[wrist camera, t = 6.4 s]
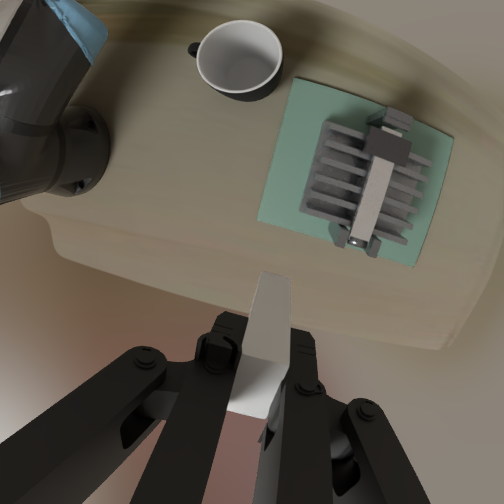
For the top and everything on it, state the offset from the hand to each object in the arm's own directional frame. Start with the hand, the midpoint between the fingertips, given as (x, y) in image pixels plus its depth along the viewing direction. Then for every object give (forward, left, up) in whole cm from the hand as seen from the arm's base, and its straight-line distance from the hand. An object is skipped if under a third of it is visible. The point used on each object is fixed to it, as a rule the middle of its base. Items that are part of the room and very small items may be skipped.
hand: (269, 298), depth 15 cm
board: (+9, +8, -26) cm, 29 cm away
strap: (+9, +7, -19) cm, 22 cm away
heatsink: (+9, +7, -26) cm, 28 cm away
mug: (-10, +17, -27) cm, 33 cm away
